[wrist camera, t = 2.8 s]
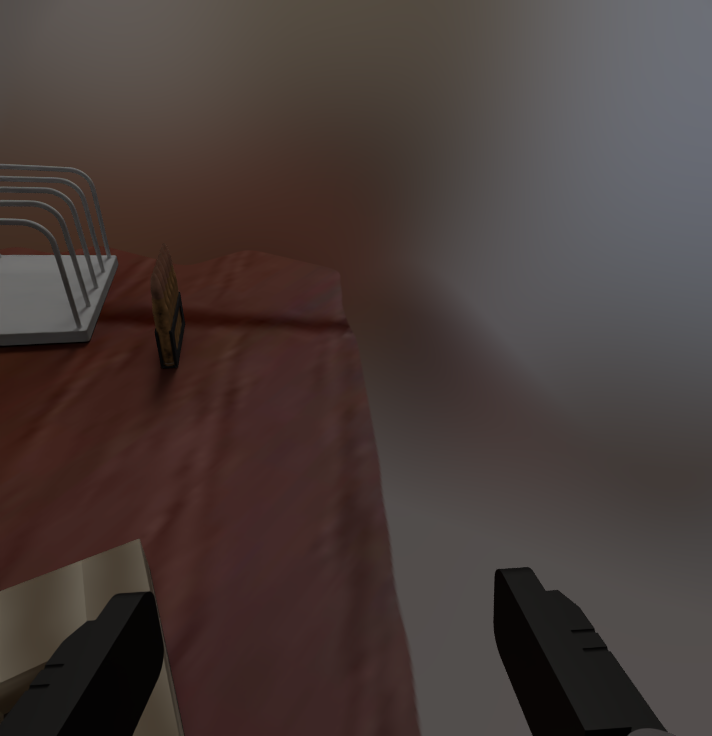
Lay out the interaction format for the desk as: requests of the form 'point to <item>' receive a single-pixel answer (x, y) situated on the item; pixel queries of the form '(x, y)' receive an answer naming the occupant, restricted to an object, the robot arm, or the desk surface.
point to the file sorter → (52, 274)
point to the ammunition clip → (167, 310)
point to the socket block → (76, 627)
